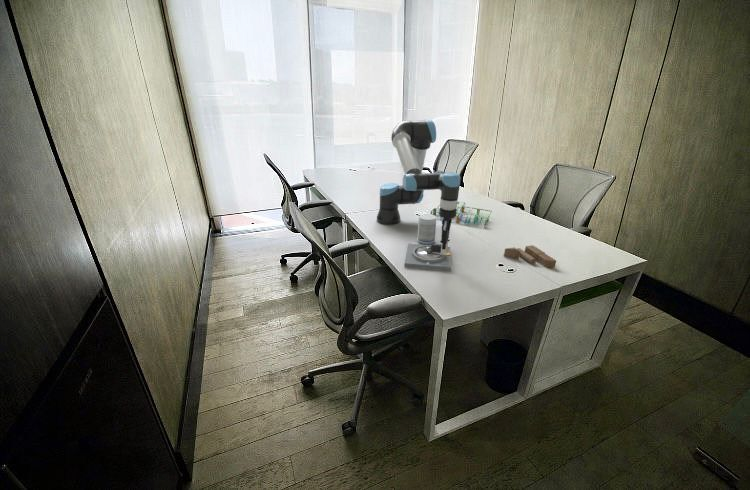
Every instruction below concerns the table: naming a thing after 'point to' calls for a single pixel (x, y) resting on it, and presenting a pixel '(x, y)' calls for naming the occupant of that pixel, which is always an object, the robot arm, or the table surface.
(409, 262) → the dial plate
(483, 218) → the house model
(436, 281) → the table surface
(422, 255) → the dial
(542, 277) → the table surface
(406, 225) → the table surface
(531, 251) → the wooden block set
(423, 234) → the supplement tub
